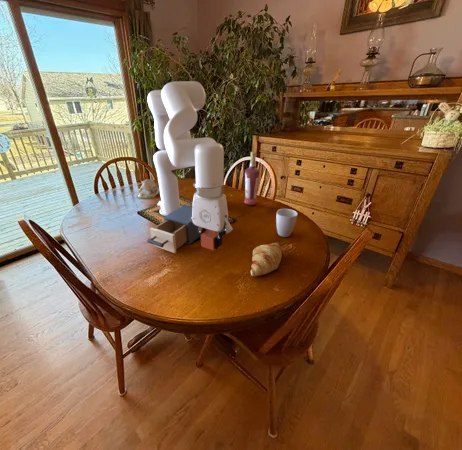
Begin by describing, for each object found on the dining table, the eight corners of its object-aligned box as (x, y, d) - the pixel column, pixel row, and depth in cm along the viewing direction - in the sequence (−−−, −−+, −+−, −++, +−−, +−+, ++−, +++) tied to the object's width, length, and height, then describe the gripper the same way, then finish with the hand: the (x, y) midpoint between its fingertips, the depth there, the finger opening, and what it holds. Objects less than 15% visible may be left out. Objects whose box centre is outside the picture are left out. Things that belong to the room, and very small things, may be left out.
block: (201, 246, 74) (200, 234, 72) (208, 239, 77) (208, 228, 75) (213, 250, 72) (213, 238, 70) (220, 243, 75) (220, 231, 73)
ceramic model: (149, 199, 142) (147, 183, 137) (134, 197, 146) (131, 181, 141) (162, 191, 153) (160, 176, 148) (148, 189, 157) (146, 175, 152)
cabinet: (190, 244, 97) (188, 223, 92) (166, 236, 103) (163, 216, 98) (208, 228, 107) (208, 209, 103) (186, 222, 114) (184, 204, 109)
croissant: (259, 290, 77) (272, 278, 71) (236, 269, 79) (246, 256, 74) (283, 257, 91) (295, 244, 86) (262, 240, 94) (273, 227, 88)
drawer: (167, 259, 87) (164, 241, 83) (145, 250, 92) (141, 233, 89) (194, 237, 100) (193, 220, 96) (173, 230, 105) (171, 215, 102)
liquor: (258, 206, 127) (262, 153, 113) (244, 207, 127) (246, 153, 114) (255, 201, 133) (259, 150, 120) (242, 201, 133) (244, 150, 120)
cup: (294, 230, 103) (297, 209, 98) (293, 240, 96) (297, 218, 92) (274, 228, 106) (277, 207, 101) (273, 237, 99) (275, 215, 94)
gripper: (177, 189, 67) (182, 243, 76) (231, 200, 59) (229, 259, 68) (192, 181, 72) (195, 232, 81) (243, 190, 64) (240, 246, 73)
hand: (211, 244), depth 74 cm, fingers closed on block, 4 cm apart
